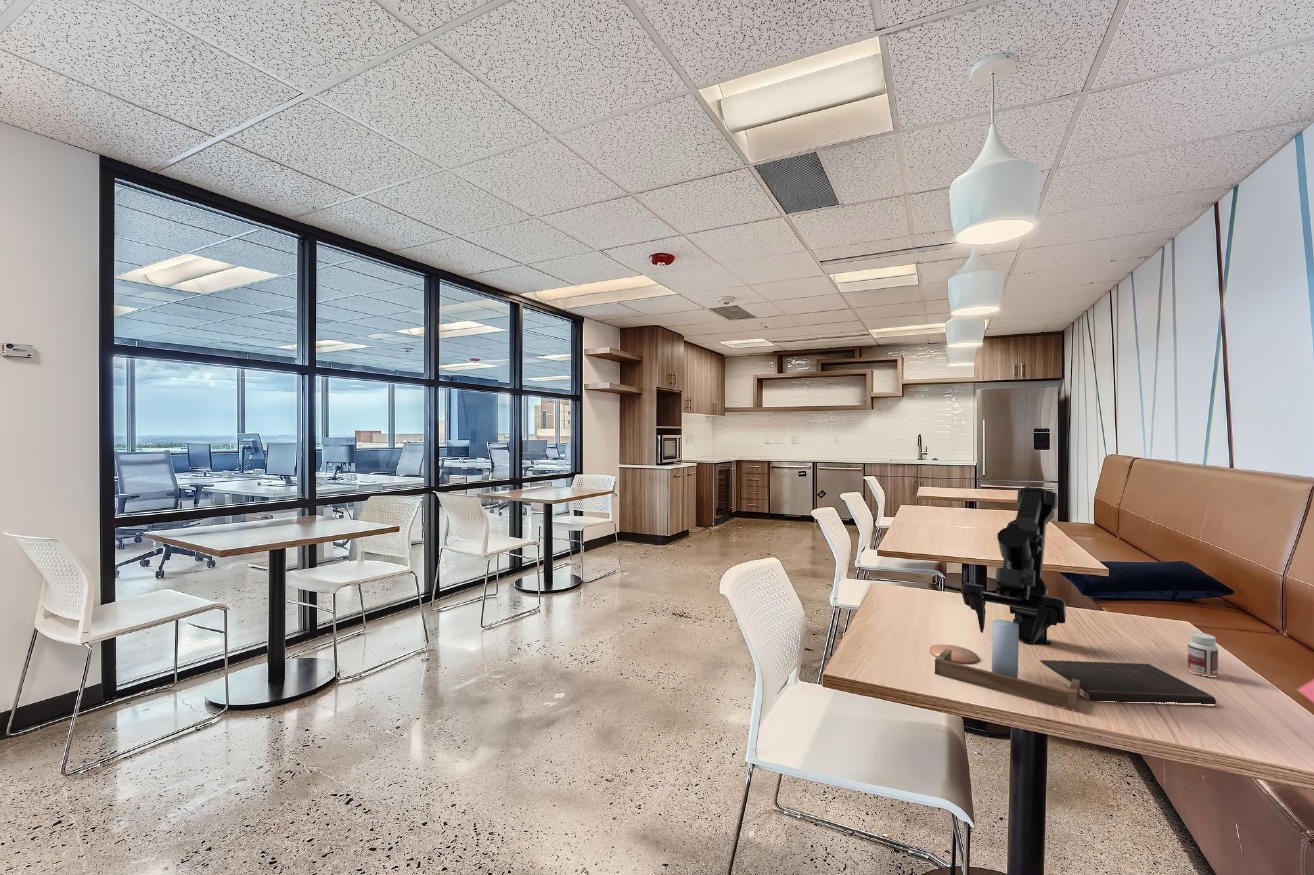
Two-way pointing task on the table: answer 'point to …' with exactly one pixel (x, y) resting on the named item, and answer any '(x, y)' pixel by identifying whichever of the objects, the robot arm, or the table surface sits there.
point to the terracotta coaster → (955, 653)
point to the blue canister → (1005, 648)
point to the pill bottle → (1203, 654)
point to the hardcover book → (1125, 682)
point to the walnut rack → (1008, 683)
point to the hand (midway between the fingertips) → (1006, 636)
